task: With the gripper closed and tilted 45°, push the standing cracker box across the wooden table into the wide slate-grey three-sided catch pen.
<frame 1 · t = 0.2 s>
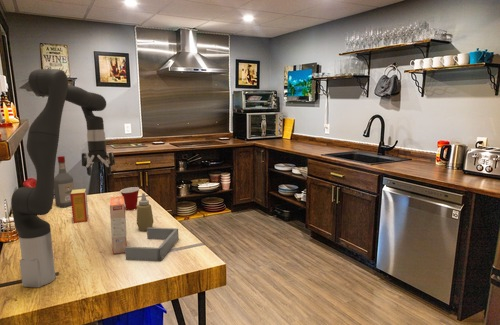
hand: (99, 175, 157), 28 cm above the table, tool pointing down, fingers open, 8 cm apart
baking soda box: (81, 220, 182), on the table
cracker box: (120, 247, 147), on the table
catch pen: (153, 248, 145), on the table
plastic cup: (131, 209, 201), on the table
squeeze bottle: (145, 229, 168), on the table
liquor: (65, 205, 209), on the table
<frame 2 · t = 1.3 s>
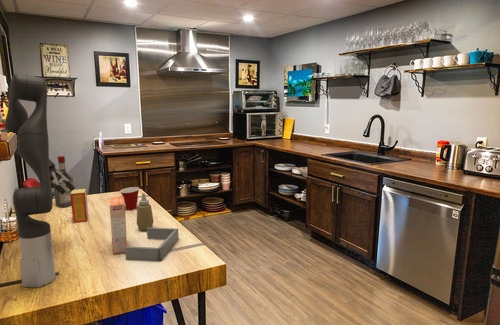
hand: (68, 191, 145), 24 cm above the table, tool tilted 45°, fingers open, 5 cm apart
nothing on the table moved.
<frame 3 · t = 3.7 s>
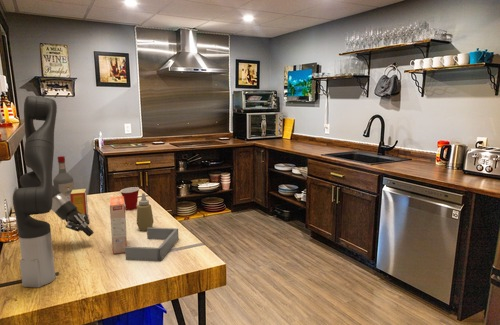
hand: (91, 234, 148), 5 cm above the table, tool tilted 45°, fingers closed
nothing on the table moved.
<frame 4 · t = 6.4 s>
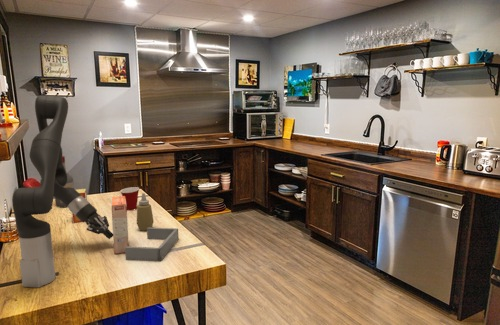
hand: (111, 237, 147), 4 cm above the table, tool tilted 45°, fingers closed
cracker box: (121, 247, 147), on the table, touching gripper
everything else where it was.
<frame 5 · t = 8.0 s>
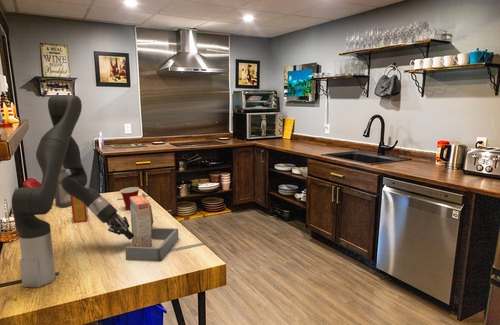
hand: (132, 237, 146), 4 cm above the table, tool tilted 45°, fingers closed
cracker box: (142, 246, 148), on the table, touching gripper
everything else where it was.
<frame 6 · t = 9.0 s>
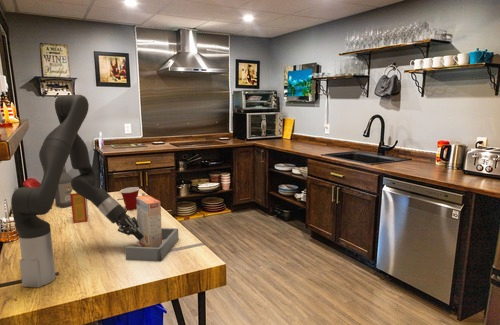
hand: (141, 238, 145), 4 cm above the table, tool tilted 45°, fingers closed
cracker box: (150, 245, 149), on the table, touching catch pen, gripper
everything else where it was.
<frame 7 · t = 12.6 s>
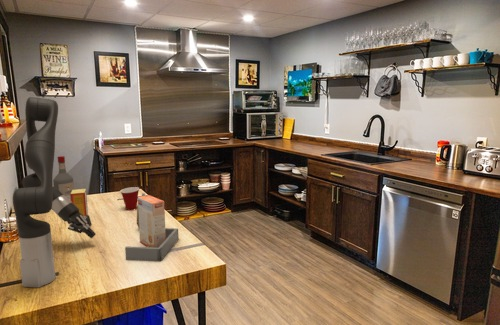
hand: (93, 236, 147), 4 cm above the table, tool tilted 45°, fingers closed
cracker box: (153, 245, 149), on the table
everything else where it was.
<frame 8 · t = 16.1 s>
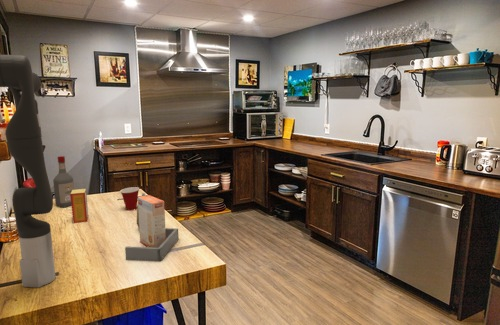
hand: (34, 170, 134), 35 cm above the table, tool pointing down, fingers closed
nothing on the table moved.
at the end: cracker box inside the target area on the catch pen (4.3 cm from its centre), point 0.0 cm above the catch pen's base; cracker box tilted 0° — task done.
